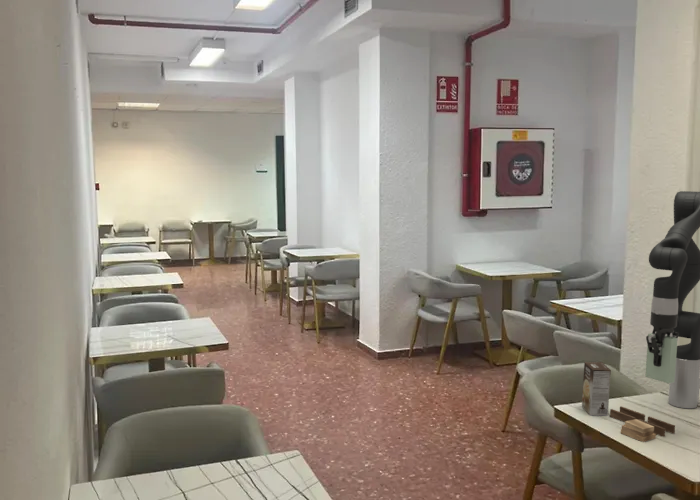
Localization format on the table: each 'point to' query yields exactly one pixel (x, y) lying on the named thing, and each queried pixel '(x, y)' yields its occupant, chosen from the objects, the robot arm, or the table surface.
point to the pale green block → (663, 362)
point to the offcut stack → (638, 430)
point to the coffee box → (596, 388)
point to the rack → (643, 420)
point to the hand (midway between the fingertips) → (660, 364)
